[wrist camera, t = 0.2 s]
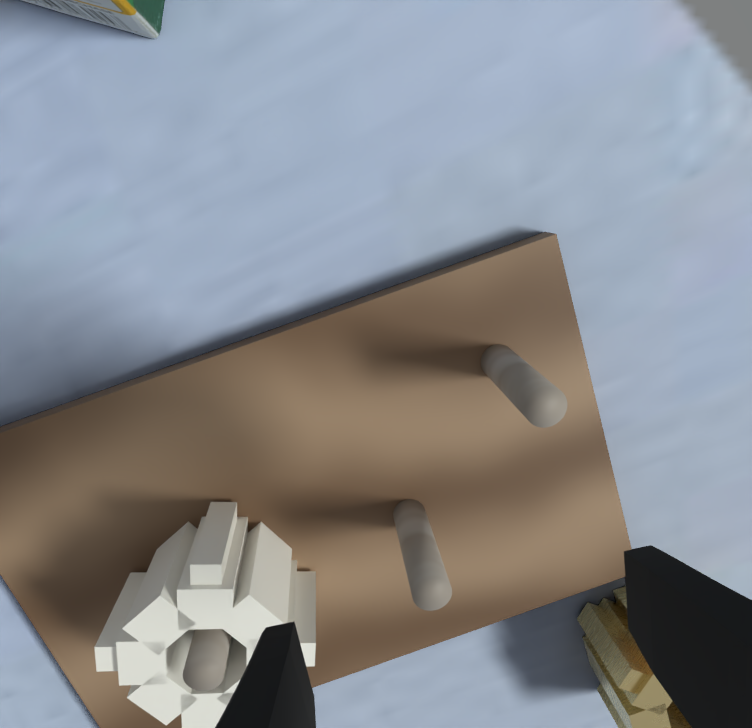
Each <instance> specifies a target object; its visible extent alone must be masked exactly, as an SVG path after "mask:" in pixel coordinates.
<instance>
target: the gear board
mask: <svg viewBox="0 0 752 728" xmlns="http://www.w3.org/2000/svg"><path fill="white" fill-rule="evenodd" d="M211 502H237V517H248V532H250V531H251V530H252V529H253V528H254V527H255V526H257V525H258V524H259V523H260V522H262V523H263V524H264V525H266V526H267V527H268V528H269V529H270V530H271V531H272V532H273V533H275V534H276V535H277V536H278V537H279V538H280V539H281V540H283V541H284V542H285V543H286V544H287V545H288V546H289V547H291V548H292V558H291V560H297V571H316V650H315V666H309V667H306V668H307V671H308V675H309V679H310V683H311V687H312V688H313V687H316V686H318V685H321V684H324V683H327V682H330V681H333V680H335V679H338V678H341V677H344V676H347V675H349V674H352V673H355V672H358V671H361V670H364V669H366V668H369V667H372V666H375V665H378V664H380V663H383V662H386V661H389V660H392V659H395V658H397V657H400V656H403V655H406V654H409V653H411V652H414V651H417V650H420V649H423V648H426V647H428V646H431V645H434V644H437V643H440V642H442V641H445V640H448V639H451V638H454V637H457V636H459V635H462V634H465V633H468V632H471V631H473V630H476V629H479V628H482V627H485V626H488V625H490V624H493V623H496V622H499V621H502V620H504V619H507V618H510V617H513V616H516V615H519V614H521V613H524V612H527V611H530V610H533V609H535V608H538V607H541V606H544V605H547V604H550V603H552V602H555V601H558V600H561V599H564V598H566V597H569V596H572V595H575V594H578V593H581V592H583V591H586V590H589V589H592V588H595V587H597V586H600V585H603V584H606V583H609V582H612V581H614V580H617V579H620V578H623V577H625V564H624V551H627V550H632V549H631V545H630V541H629V537H628V533H627V528H626V524H625V520H624V516H623V512H622V507H621V503H620V499H619V495H618V491H617V486H616V482H615V478H614V474H613V470H612V466H611V461H610V457H609V453H608V449H607V445H606V440H605V436H604V432H603V428H602V424H601V419H600V415H599V411H598V407H597V403H596V399H595V394H594V390H593V386H592V382H591V378H590V373H589V369H588V365H587V361H586V357H585V353H584V348H583V344H582V340H581V336H580V332H579V327H578V323H577V319H576V315H575V311H574V306H573V302H572V298H571V294H570V290H569V286H568V281H567V277H566V273H565V269H564V265H563V260H562V256H561V252H560V248H559V244H558V239H557V235H556V234H553V233H548V232H543V233H540V234H538V235H535V236H532V237H529V238H526V239H524V240H521V241H518V242H515V243H512V244H510V245H507V246H504V247H501V248H499V249H496V250H493V251H490V252H487V253H485V254H482V255H479V256H476V257H473V258H471V259H468V260H465V261H462V262H459V263H457V264H454V265H451V266H448V267H445V268H443V269H440V270H437V271H434V272H431V273H429V274H426V275H423V276H420V277H417V278H415V279H412V280H409V281H406V282H404V283H401V284H398V285H395V286H392V287H390V288H387V289H384V290H381V291H378V292H376V293H373V294H370V295H367V296H364V297H362V298H359V299H356V300H353V301H350V302H348V303H345V304H342V305H339V306H336V307H334V308H331V309H328V310H325V311H322V312H320V313H317V314H314V315H311V316H309V317H306V318H303V319H300V320H297V321H295V322H292V323H289V324H286V325H283V326H281V327H278V328H275V329H272V330H269V331H267V332H264V333H261V334H258V335H255V336H253V337H250V338H247V339H244V340H241V341H239V342H236V343H233V344H230V345H227V346H225V347H222V348H219V349H216V350H214V351H211V352H208V353H205V354H202V355H200V356H197V357H194V358H191V359H188V360H186V361H183V362H180V363H177V364H174V365H172V366H169V367H166V368H163V369H160V370H158V371H155V372H152V373H149V374H146V375H144V376H141V377H138V378H135V379H132V380H130V381H127V382H124V383H121V384H119V385H116V386H113V387H110V388H107V389H105V390H102V391H99V392H96V393H93V394H91V395H88V396H85V397H82V398H79V399H77V400H74V401H71V402H68V403H65V404H63V405H60V406H57V407H54V408H51V409H49V410H46V411H43V412H40V413H37V414H35V415H32V416H29V417H26V418H24V419H21V420H18V421H15V422H12V423H10V424H7V425H4V426H1V427H0V575H1V576H2V578H3V579H4V581H5V582H6V584H7V586H8V587H9V589H10V590H11V592H12V593H13V595H14V596H15V598H16V599H17V601H18V602H19V604H20V606H21V607H22V609H23V610H24V612H25V613H26V615H27V616H28V618H29V619H30V621H31V622H32V624H33V626H34V627H35V629H36V630H37V632H38V633H39V635H40V636H41V638H42V639H43V641H44V642H45V644H46V646H47V647H48V649H49V650H50V652H51V653H52V655H53V656H54V658H55V659H56V661H57V662H58V664H59V666H60V667H61V669H62V670H63V672H64V673H65V675H66V676H67V678H68V679H69V681H70V682H71V684H72V686H73V687H74V689H75V690H76V692H77V693H78V695H79V696H80V698H81V699H82V701H83V702H84V704H85V706H86V707H87V709H88V710H89V712H90V713H91V715H92V716H93V718H94V719H95V721H96V722H97V724H98V726H99V727H100V728H182V719H181V714H180V715H178V716H177V717H176V718H175V719H174V720H172V721H171V722H170V723H169V724H168V725H165V724H163V723H162V722H160V721H159V720H158V719H156V718H155V717H153V716H152V715H150V714H149V713H148V712H146V711H145V710H143V709H142V708H140V707H139V706H138V705H136V704H135V703H133V702H132V701H131V700H129V699H128V698H127V696H128V693H129V690H130V688H131V685H122V686H119V677H118V671H102V672H97V671H96V660H95V648H94V647H95V645H96V643H97V641H98V639H99V637H100V635H101V633H102V631H103V628H104V626H105V624H106V622H107V620H108V618H109V616H110V614H111V612H112V610H113V608H114V606H115V604H116V601H117V599H118V597H119V595H120V593H121V591H122V589H123V587H124V585H125V583H126V581H127V579H128V577H129V574H130V573H132V572H147V570H148V568H149V566H150V563H151V561H152V559H153V557H154V554H155V552H156V550H157V549H158V548H159V547H160V546H161V545H162V544H163V543H164V542H166V541H167V540H168V539H169V538H170V537H171V536H172V535H174V534H175V533H176V532H177V531H178V530H179V529H180V528H182V527H183V526H184V525H185V524H186V523H187V522H188V521H189V522H190V523H191V524H192V525H193V526H195V527H196V528H197V529H198V527H199V524H200V521H201V518H202V517H206V515H207V512H208V509H209V506H210V503H211ZM231 637H232V636H231V635H230V634H228V633H227V632H226V631H225V630H223V629H195V630H194V634H193V637H192V641H191V645H190V648H189V652H188V656H187V659H186V663H185V667H184V670H183V680H184V682H185V683H186V684H187V685H188V686H189V687H190V688H192V689H194V690H197V691H209V690H212V689H215V688H216V687H218V686H219V685H220V684H221V683H222V681H223V679H224V674H225V669H226V663H227V658H228V653H229V647H230V642H231Z"/></svg>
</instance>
